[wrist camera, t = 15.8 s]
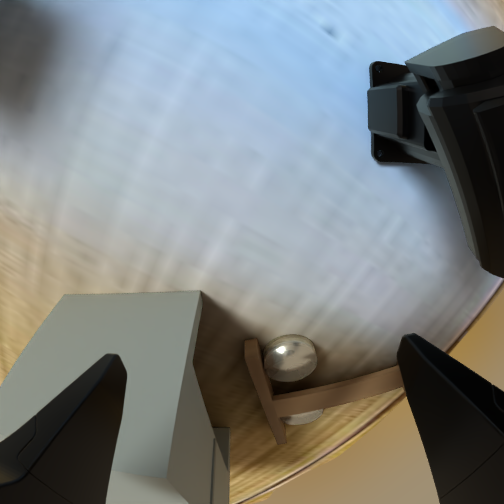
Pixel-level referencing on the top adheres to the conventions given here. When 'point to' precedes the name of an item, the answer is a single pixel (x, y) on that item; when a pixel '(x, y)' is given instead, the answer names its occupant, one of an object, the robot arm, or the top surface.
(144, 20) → the top surface
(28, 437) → the robot arm
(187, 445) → the cabinet
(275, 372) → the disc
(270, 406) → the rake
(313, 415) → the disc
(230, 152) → the top surface
